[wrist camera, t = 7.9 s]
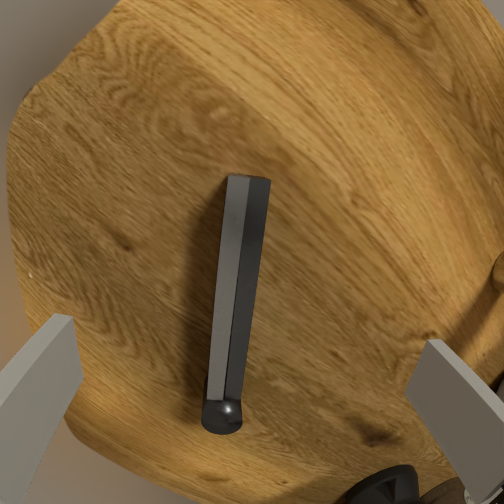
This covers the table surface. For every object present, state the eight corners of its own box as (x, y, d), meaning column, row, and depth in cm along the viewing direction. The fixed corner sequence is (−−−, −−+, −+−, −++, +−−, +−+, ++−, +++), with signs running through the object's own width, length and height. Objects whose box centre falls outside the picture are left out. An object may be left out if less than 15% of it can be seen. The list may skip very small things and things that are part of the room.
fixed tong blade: (238, 397, 33) (240, 435, 27) (203, 395, 33) (200, 433, 27) (268, 177, 26) (278, 181, 21) (222, 172, 26) (219, 174, 20)
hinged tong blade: (222, 369, 31) (222, 400, 27) (208, 368, 31) (206, 399, 26) (246, 174, 26) (250, 177, 21) (228, 172, 26) (228, 175, 21)
